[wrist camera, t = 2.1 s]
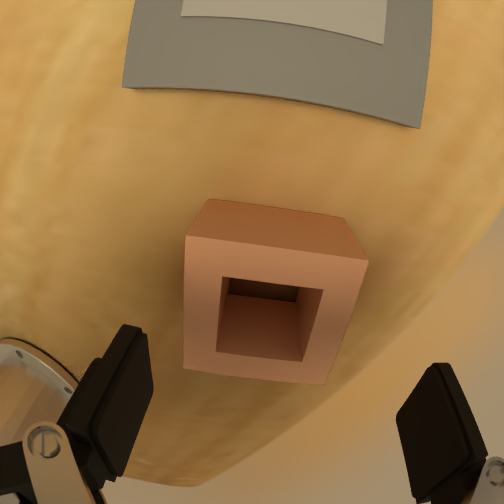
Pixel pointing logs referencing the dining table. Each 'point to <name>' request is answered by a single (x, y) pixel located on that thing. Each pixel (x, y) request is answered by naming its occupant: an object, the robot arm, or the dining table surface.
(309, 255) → the collar
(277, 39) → the post board
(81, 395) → the robot arm
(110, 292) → the dining table surface
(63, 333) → the dining table surface
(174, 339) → the dining table surface
